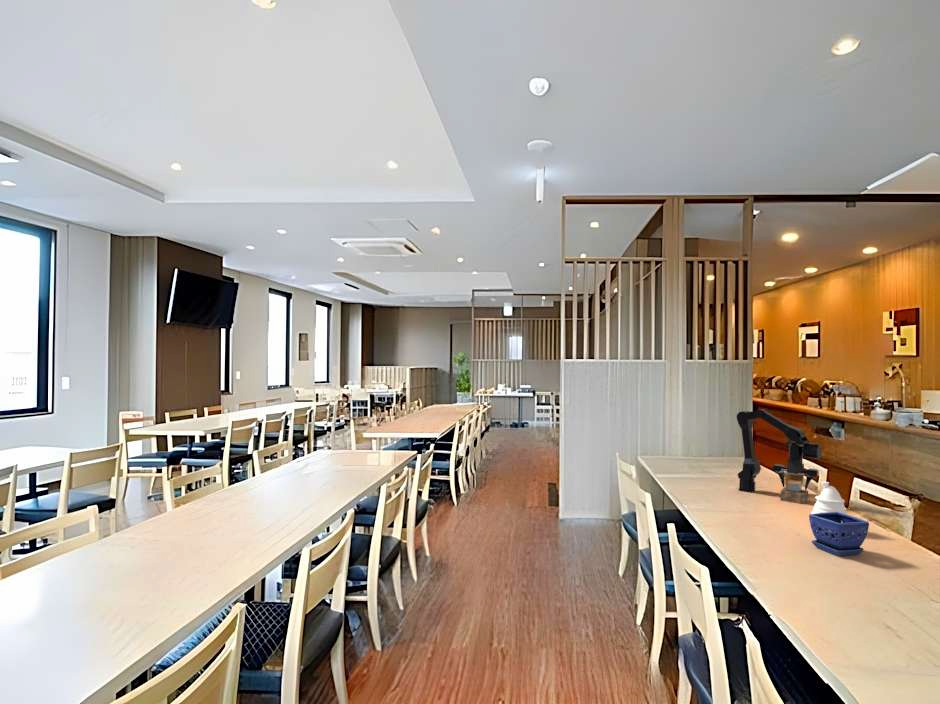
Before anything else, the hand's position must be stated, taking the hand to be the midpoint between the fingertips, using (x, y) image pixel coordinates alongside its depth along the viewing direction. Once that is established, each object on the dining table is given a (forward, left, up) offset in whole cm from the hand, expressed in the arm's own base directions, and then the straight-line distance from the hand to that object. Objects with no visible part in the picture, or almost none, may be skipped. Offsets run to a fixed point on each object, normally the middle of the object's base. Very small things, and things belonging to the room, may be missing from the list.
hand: (794, 488), depth 281 cm
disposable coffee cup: (-3, +16, -6) cm, 17 cm away
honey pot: (+19, -41, -6) cm, 46 cm away
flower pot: (+25, -72, -6) cm, 76 cm away
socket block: (0, 0, -6) cm, 6 cm away
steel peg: (0, 0, -6) cm, 6 cm away
